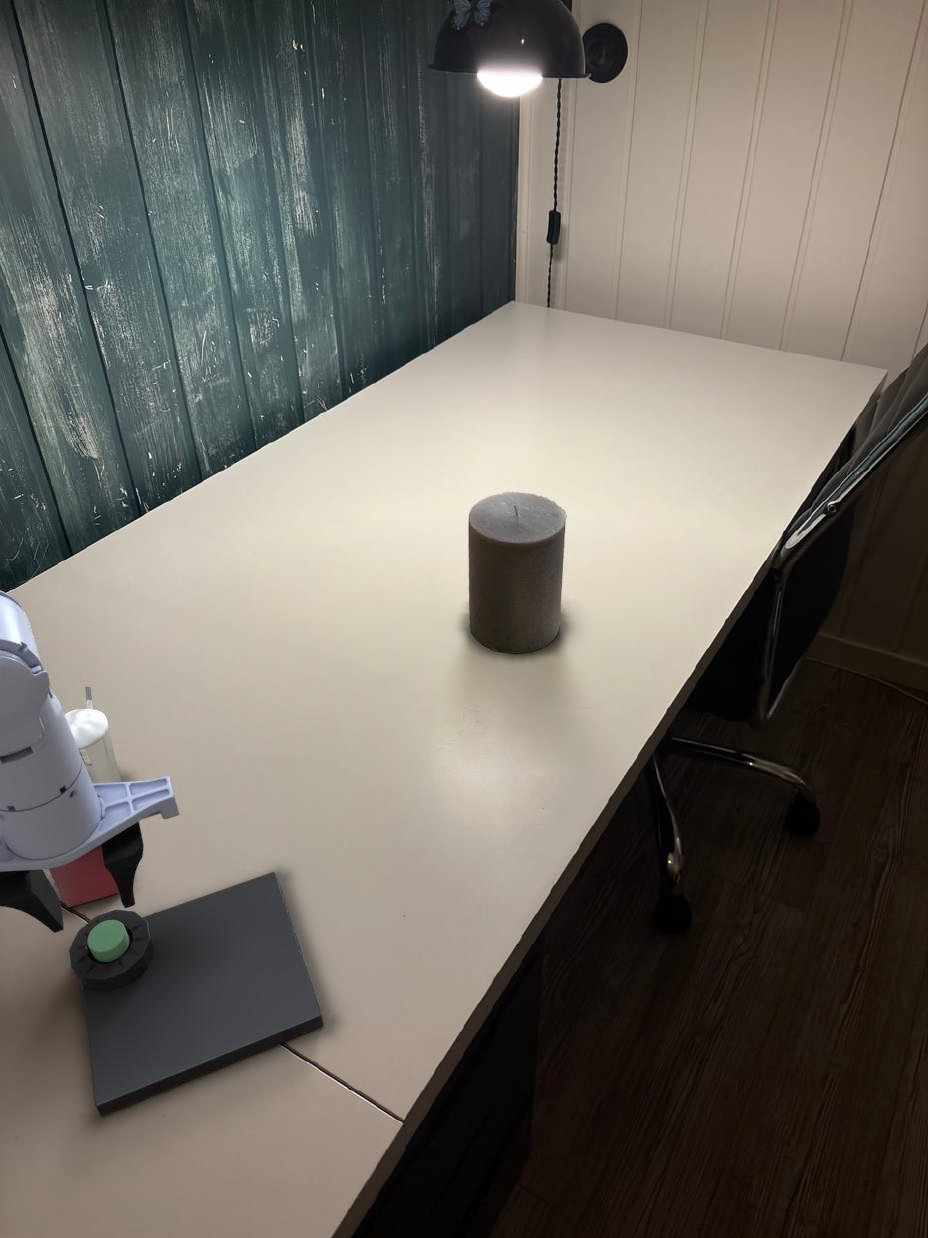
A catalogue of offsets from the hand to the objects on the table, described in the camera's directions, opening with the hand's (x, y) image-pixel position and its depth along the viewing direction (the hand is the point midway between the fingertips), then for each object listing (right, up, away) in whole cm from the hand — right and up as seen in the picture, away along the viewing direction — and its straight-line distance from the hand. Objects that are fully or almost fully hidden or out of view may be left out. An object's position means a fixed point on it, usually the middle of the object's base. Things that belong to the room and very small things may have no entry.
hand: (93, 907), depth 63 cm
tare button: (0, -4, +3) cm, 5 cm away
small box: (-4, -1, +11) cm, 12 cm away
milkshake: (-6, +5, +18) cm, 20 cm away
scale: (+6, -7, +3) cm, 10 cm away
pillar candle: (+31, +19, +35) cm, 51 cm away
